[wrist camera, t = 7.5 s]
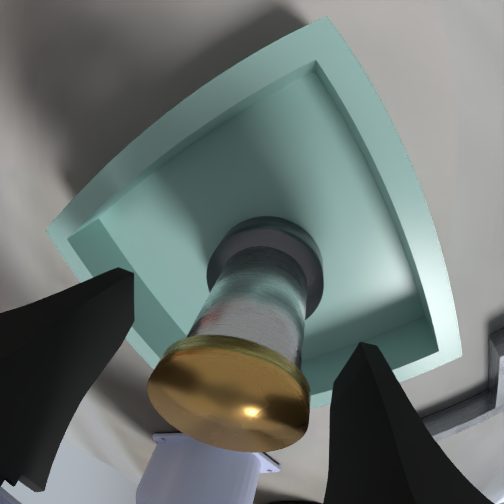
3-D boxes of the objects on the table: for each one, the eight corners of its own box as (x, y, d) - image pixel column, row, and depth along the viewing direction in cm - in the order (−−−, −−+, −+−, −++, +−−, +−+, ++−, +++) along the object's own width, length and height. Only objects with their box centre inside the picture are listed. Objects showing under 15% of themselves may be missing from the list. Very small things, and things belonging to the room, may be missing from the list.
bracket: (386, 437, 18) (387, 456, 16) (359, 390, 16) (361, 414, 14) (509, 385, 14) (516, 403, 12) (515, 320, 12) (527, 340, 10)
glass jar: (306, 320, 13) (291, 467, 7) (211, 296, 14) (144, 427, 7) (336, 231, 11) (355, 382, 5) (224, 204, 12) (125, 321, 5)
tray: (225, 386, 17) (212, 425, 15) (84, 207, 14) (45, 230, 11) (443, 314, 12) (462, 355, 10) (323, 40, 9) (327, 16, 6)
